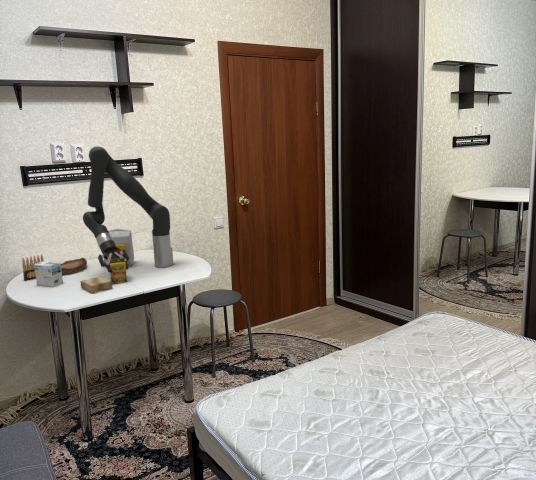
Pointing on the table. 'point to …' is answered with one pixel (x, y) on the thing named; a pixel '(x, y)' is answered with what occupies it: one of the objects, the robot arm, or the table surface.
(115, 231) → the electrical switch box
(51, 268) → the light bulb box
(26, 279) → the ammunition clip
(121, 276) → the crayon box
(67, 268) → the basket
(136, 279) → the table surface
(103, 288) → the tray
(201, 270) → the table surface
